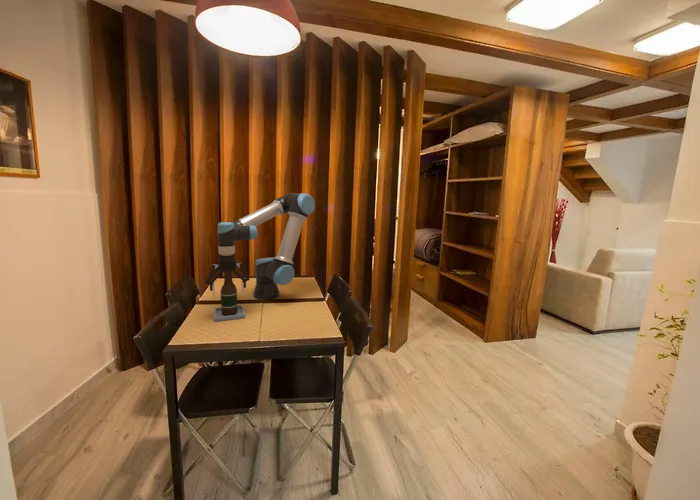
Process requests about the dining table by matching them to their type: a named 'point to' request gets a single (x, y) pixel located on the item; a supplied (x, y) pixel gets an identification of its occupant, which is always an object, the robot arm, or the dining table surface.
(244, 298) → the dining table surface
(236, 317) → the tray
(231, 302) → the beer bottle
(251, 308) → the dining table surface
